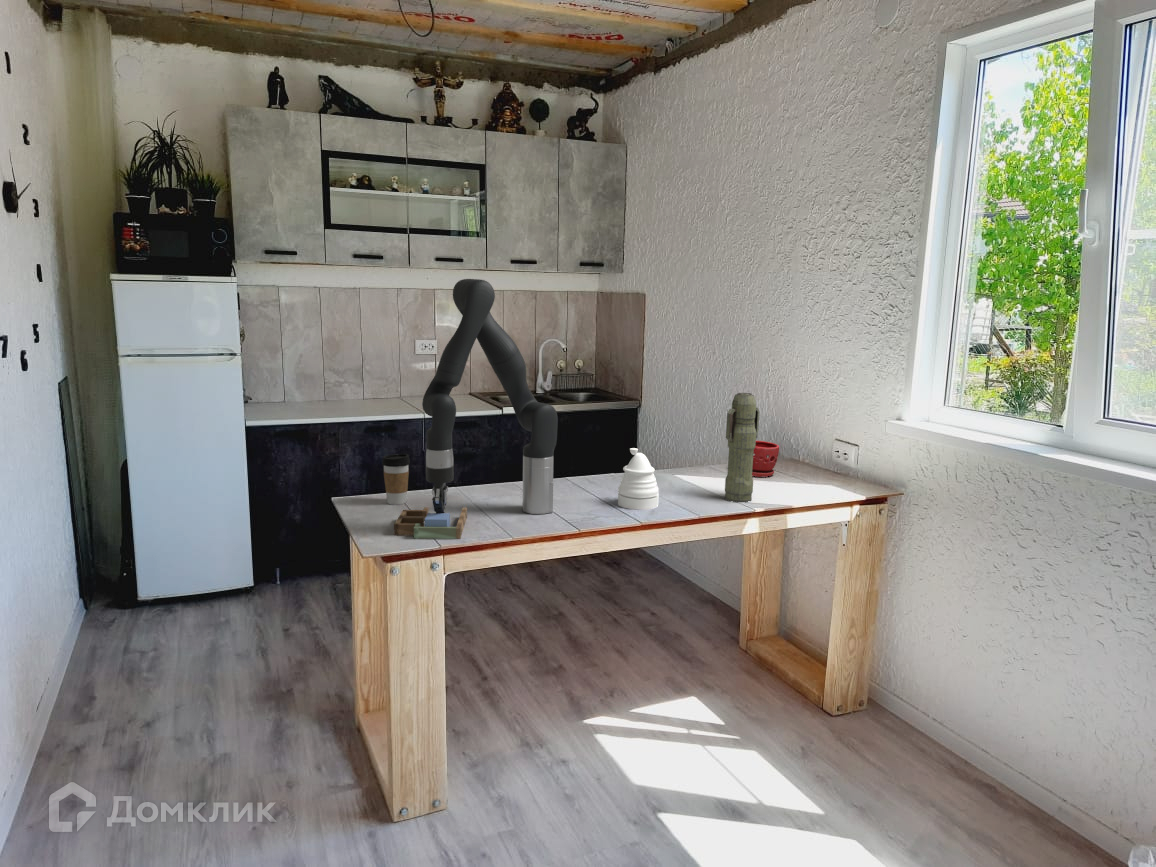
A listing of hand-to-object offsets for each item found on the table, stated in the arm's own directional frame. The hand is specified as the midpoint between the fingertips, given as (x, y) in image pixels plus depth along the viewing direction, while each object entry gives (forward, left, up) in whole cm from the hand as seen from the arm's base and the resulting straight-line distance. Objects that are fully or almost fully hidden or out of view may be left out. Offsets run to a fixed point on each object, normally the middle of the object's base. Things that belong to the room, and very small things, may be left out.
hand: (440, 523), depth 220 cm
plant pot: (-110, -68, -1) cm, 130 cm away
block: (0, +6, -1) cm, 6 cm away
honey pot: (-59, -26, -1) cm, 65 cm away
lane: (+3, 0, -1) cm, 3 cm away
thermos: (-93, -33, -1) cm, 99 cm away
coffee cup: (+17, -26, -1) cm, 31 cm away
